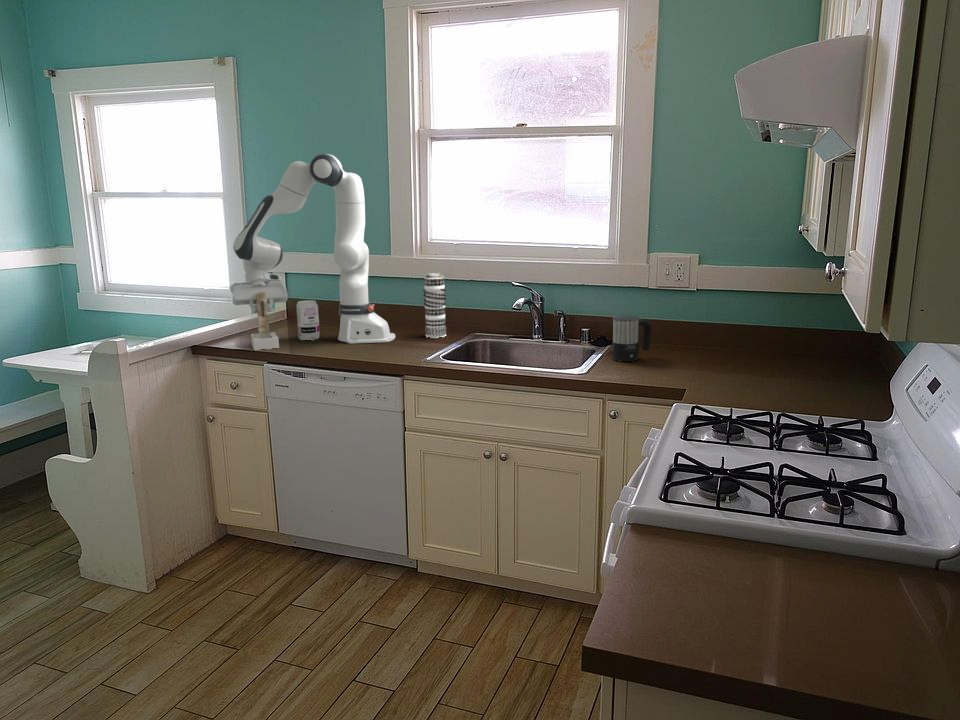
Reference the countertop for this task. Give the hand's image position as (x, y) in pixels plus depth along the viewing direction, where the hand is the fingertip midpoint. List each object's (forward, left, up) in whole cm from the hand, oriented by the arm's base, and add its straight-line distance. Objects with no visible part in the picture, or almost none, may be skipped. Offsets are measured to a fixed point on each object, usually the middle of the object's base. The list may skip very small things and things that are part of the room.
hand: (262, 311), depth 284 cm
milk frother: (-133, +15, -14) cm, 135 cm away
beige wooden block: (0, -1, -8) cm, 8 cm away
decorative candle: (-63, -21, -14) cm, 67 cm away
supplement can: (-13, -15, -14) cm, 24 cm away
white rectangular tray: (0, -1, -14) cm, 14 cm away
